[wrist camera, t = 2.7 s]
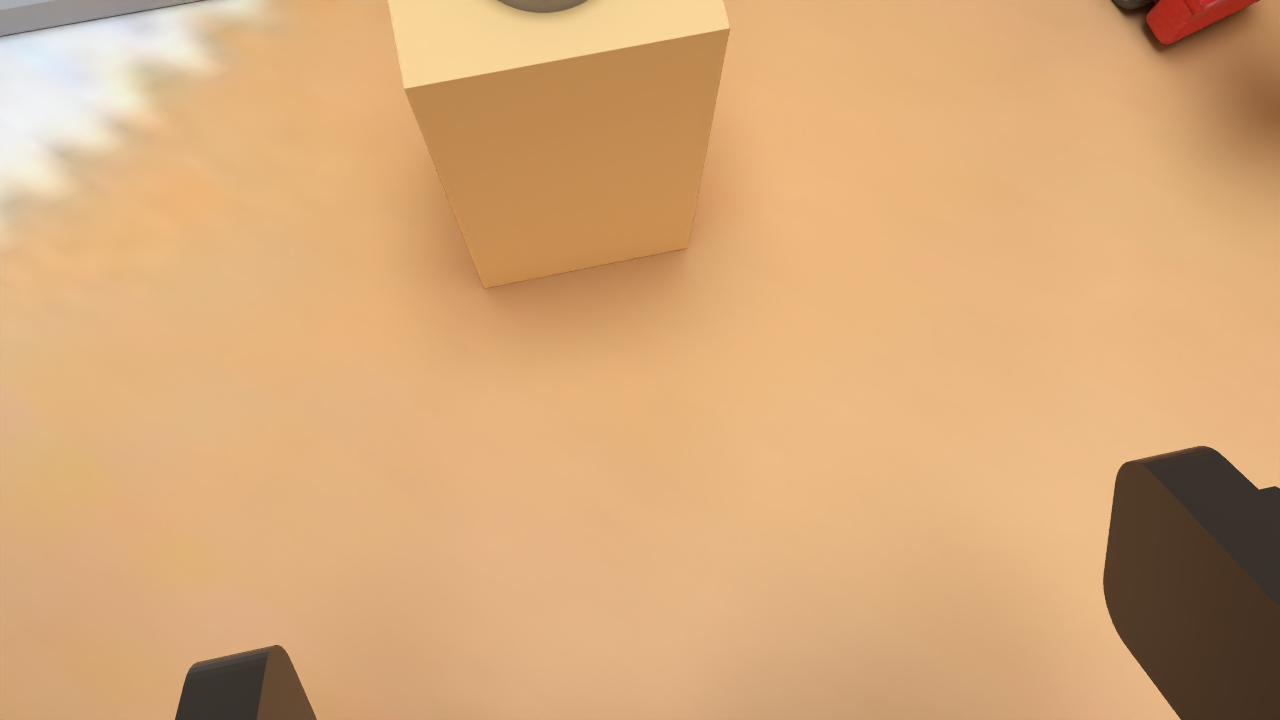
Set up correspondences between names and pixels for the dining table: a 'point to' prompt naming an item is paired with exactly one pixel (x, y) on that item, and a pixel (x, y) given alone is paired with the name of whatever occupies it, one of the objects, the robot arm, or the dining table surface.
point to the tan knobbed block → (564, 123)
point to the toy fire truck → (1184, 15)
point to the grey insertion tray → (67, 12)
